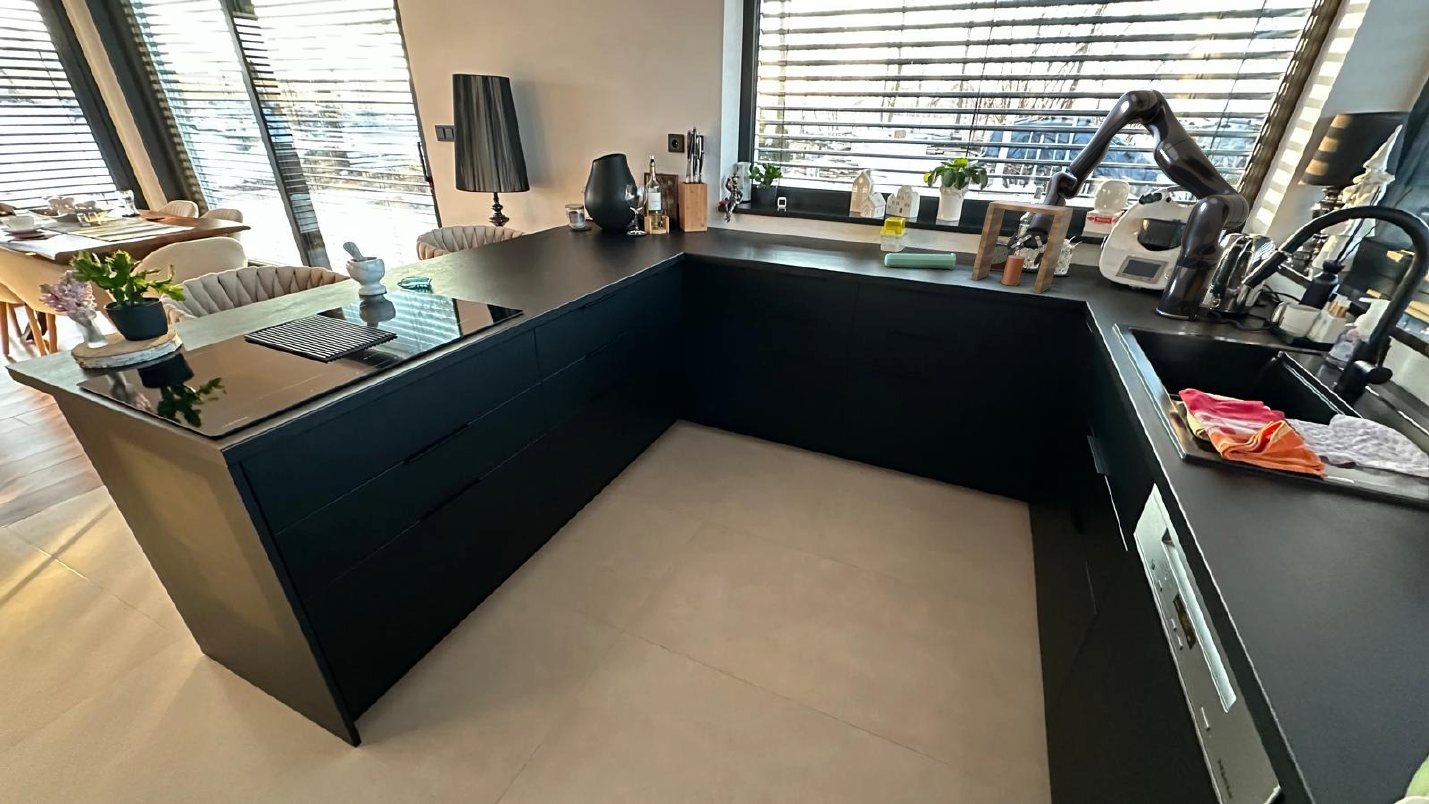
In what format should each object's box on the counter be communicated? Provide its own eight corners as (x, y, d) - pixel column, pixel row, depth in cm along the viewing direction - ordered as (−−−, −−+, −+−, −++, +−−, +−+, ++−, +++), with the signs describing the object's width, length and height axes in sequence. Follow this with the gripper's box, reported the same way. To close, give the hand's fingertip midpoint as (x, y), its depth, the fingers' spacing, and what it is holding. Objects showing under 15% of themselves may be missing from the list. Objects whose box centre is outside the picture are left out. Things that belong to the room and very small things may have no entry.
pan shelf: (1049, 288, 186) (1074, 208, 174) (1039, 293, 179) (1063, 210, 168) (982, 274, 200) (1001, 199, 188) (970, 279, 193) (989, 202, 182)
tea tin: (1020, 283, 190) (1027, 257, 185) (1014, 286, 186) (1021, 259, 182) (1004, 280, 193) (1011, 254, 189) (998, 283, 190) (1005, 256, 185)
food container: (1002, 266, 211) (1009, 239, 207) (1008, 270, 206) (1016, 243, 201) (969, 265, 212) (975, 238, 208) (974, 269, 207) (981, 241, 202)
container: (886, 250, 204) (956, 251, 202) (883, 253, 210) (950, 254, 208) (886, 266, 204) (955, 268, 203) (882, 269, 210) (949, 270, 208)
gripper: (1021, 213, 194) (999, 251, 192) (1065, 219, 185) (1043, 258, 183) (1022, 227, 200) (1001, 264, 198) (1065, 233, 191) (1044, 272, 189)
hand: (1021, 261), depth 191 cm, fingers open, 8 cm apart
